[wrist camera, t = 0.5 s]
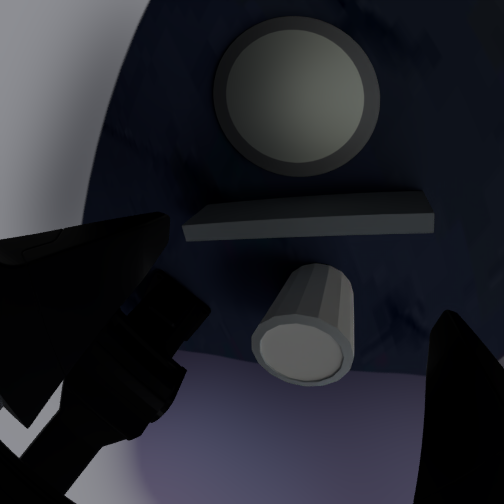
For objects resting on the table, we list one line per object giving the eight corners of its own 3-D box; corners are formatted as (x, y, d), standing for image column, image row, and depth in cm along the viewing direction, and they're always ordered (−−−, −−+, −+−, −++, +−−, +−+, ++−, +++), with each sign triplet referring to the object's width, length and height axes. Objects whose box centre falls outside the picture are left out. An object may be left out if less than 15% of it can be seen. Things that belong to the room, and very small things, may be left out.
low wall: (423, 190, 19) (434, 213, 15) (423, 207, 19) (433, 232, 16) (207, 204, 25) (181, 225, 21) (211, 218, 25) (186, 241, 22)
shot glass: (338, 243, 23) (325, 301, 17) (373, 311, 24) (368, 377, 19) (262, 273, 26) (230, 330, 20) (302, 332, 28) (282, 393, 22)
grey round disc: (312, 206, 22) (311, 208, 21) (190, 116, 21) (186, 117, 21) (413, 85, 16) (414, 85, 15) (269, -9, 15) (267, -11, 15)
